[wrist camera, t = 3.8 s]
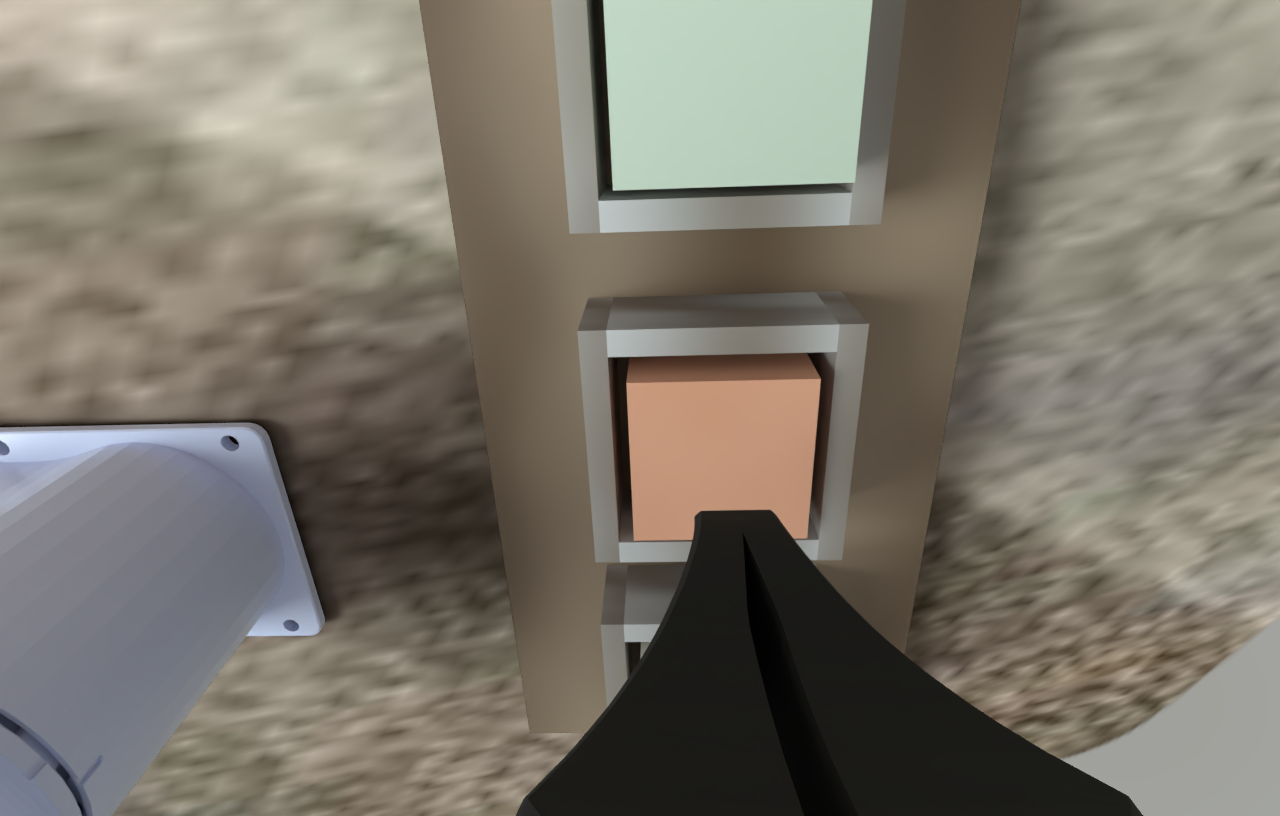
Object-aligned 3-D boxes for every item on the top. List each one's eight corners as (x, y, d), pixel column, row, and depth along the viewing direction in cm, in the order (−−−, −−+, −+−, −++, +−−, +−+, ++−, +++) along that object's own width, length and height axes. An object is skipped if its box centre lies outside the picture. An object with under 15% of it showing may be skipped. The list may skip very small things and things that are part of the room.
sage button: (620, 172, 14) (613, 190, 11) (609, -69, 12) (598, -103, 10) (822, 166, 13) (854, 182, 11) (841, -80, 12) (883, -118, 9)
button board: (539, 685, 25) (516, 800, 21) (426, -140, 14) (338, -225, 10) (873, 683, 24) (915, 801, 20) (1006, -171, 14) (1145, -272, 10)
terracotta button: (637, 485, 18) (633, 540, 16) (631, 343, 16) (626, 382, 14) (788, 483, 18) (806, 538, 16) (798, 338, 16) (820, 378, 14)
